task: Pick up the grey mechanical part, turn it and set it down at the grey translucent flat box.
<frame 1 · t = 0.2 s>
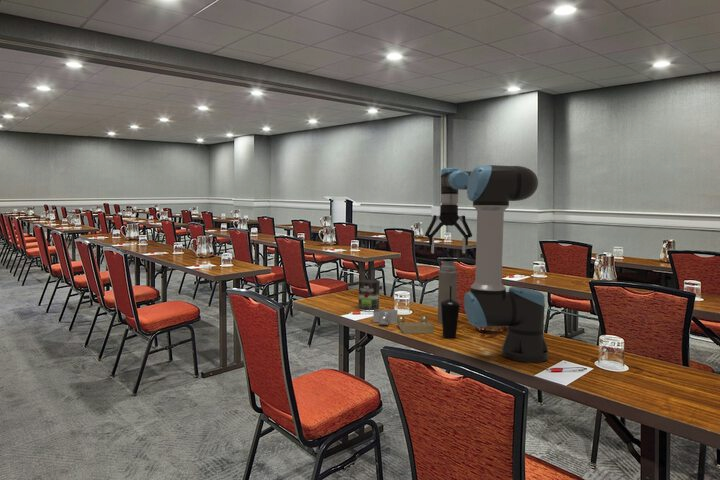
hand: (448, 253, 214), 30 cm above the table, tool pointing down, fingers open, 13 cm apart
grey mechanical part: (385, 322, 216), on the table
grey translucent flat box: (412, 326, 208), on the table
thermos bottle: (446, 322, 217), on the table
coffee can: (368, 309, 240), on the table
drinking cup: (449, 337, 192), on the table
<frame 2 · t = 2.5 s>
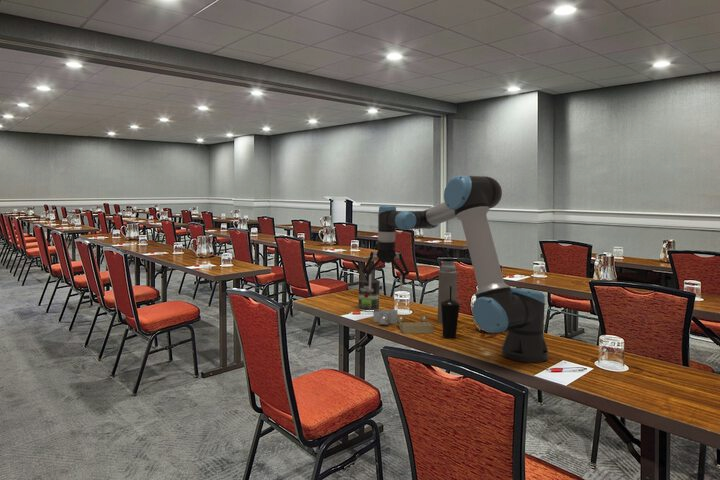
hand: (385, 289, 215), 14 cm above the table, tool pointing down, fingers open, 13 cm apart
nothing on the table moved.
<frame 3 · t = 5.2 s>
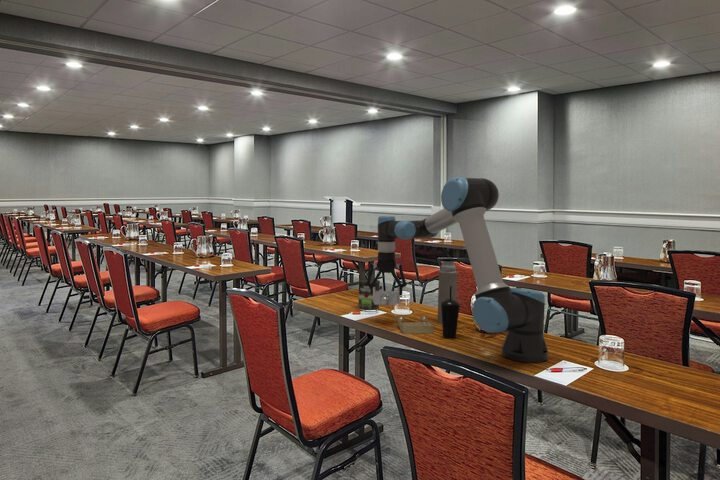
hand: (386, 302, 214), 9 cm above the table, tool pointing down, fingers closed on grey mechanical part, 10 cm apart
grey mechanical part: (386, 303, 214), point 8 cm above the table, touching gripper
everything else where it was.
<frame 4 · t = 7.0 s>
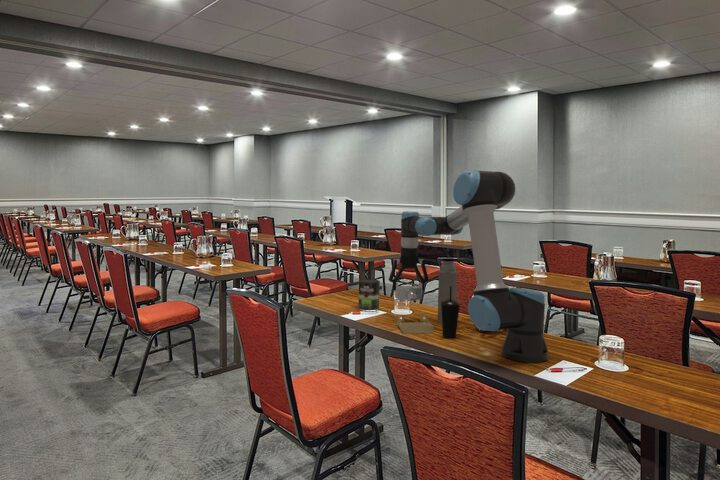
hand: (408, 297, 216), 11 cm above the table, tool pointing down, fingers closed on grey mechanical part, 10 cm apart
grey mechanical part: (408, 298, 216), point 10 cm above the table, touching gripper
everything else where it was.
when the fingers open (1 cm above the table, at t = 9.0 s): grey mechanical part stays where it is, on the table.
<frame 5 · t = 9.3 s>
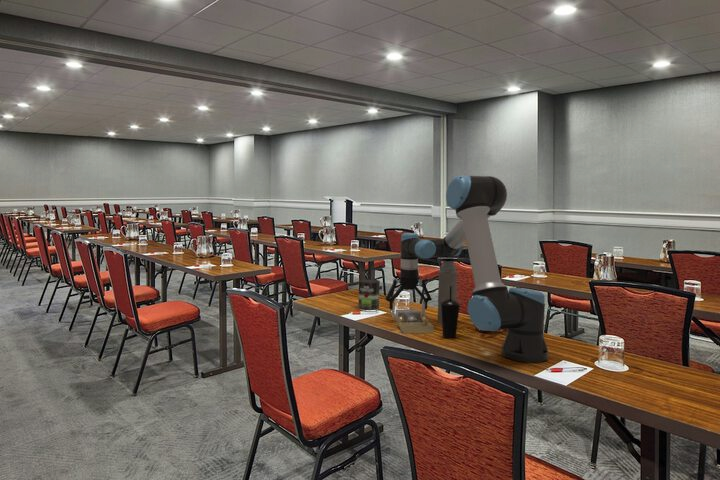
hand: (408, 316, 216), 2 cm above the table, tool pointing down, fingers open, 13 cm apart
grey mechanical part: (408, 322, 216), on the table
everything else where it was.
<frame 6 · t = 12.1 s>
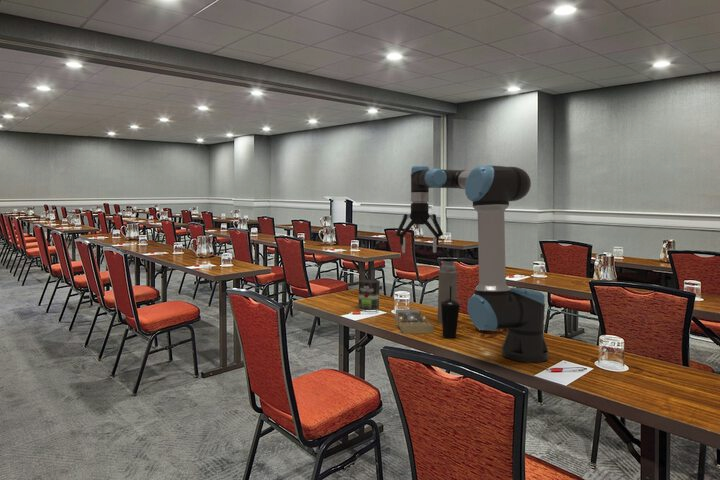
hand: (419, 252, 210), 31 cm above the table, tool pointing down, fingers open, 13 cm apart
nothing on the table moved.
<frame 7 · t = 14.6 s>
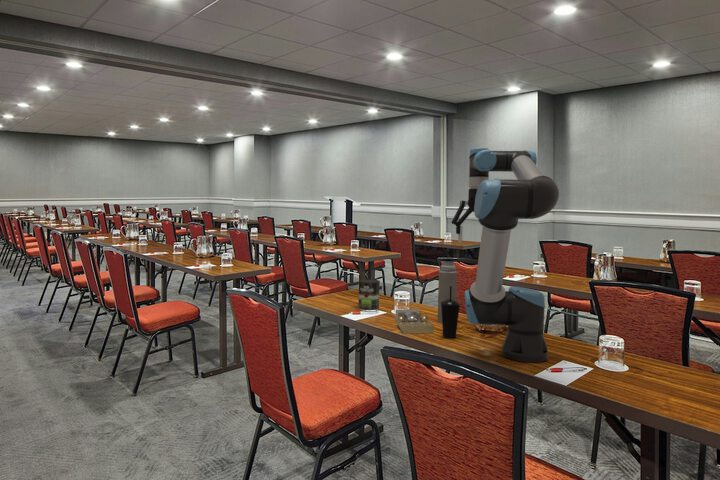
hand: (476, 242, 194), 37 cm above the table, tool pointing down, fingers open, 13 cm apart
nothing on the table moved.
at the end: grey mechanical part 1.3 cm from the target spot on the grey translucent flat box, point 0.0 cm above the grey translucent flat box's base; grey mechanical part tilted 0°; the gripper is holding nothing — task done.
